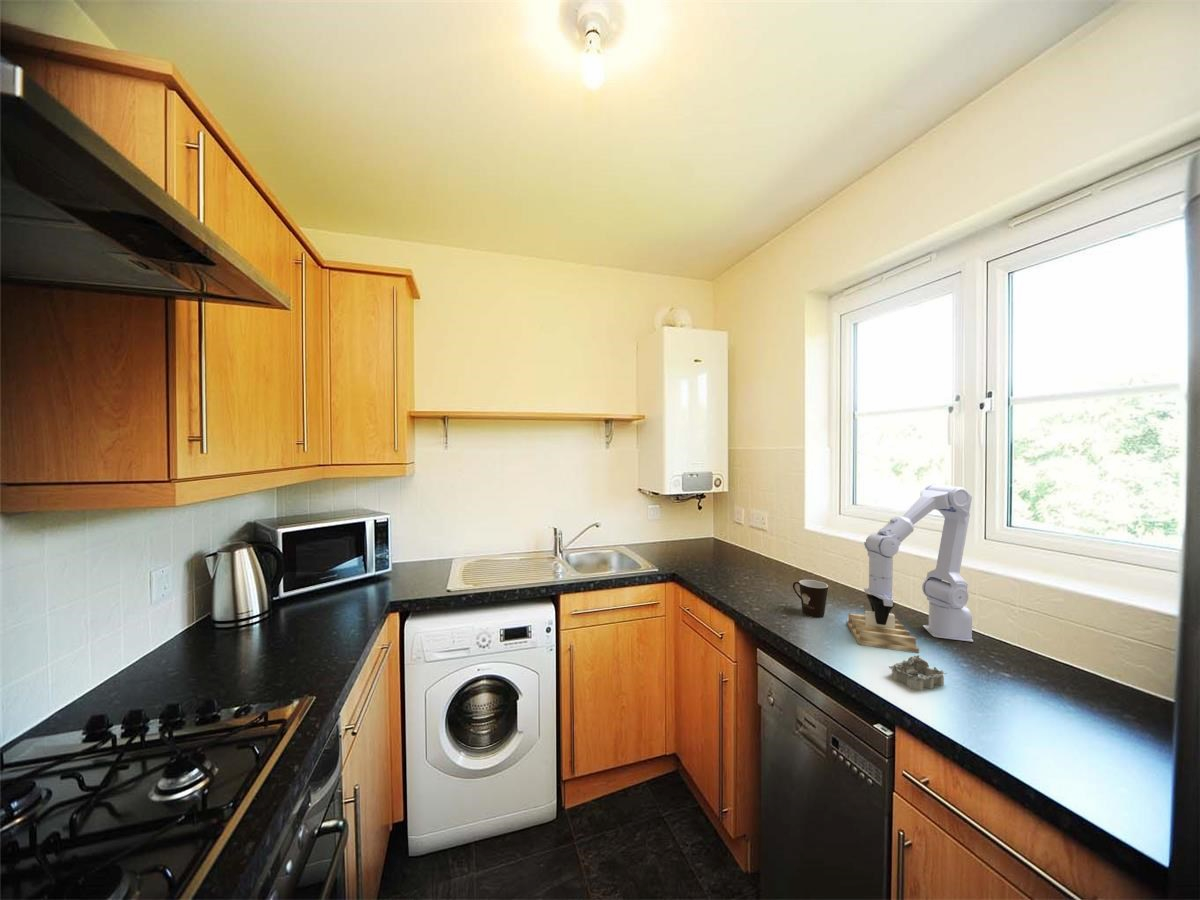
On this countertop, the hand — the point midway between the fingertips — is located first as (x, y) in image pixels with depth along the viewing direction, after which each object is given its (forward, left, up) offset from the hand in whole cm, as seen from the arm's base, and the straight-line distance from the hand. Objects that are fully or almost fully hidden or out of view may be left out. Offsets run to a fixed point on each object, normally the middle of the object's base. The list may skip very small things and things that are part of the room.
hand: (879, 622), depth 122 cm
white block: (0, 0, -3) cm, 3 cm away
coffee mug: (+16, -14, -4) cm, 22 cm away
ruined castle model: (-1, +24, -5) cm, 24 cm away
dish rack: (0, 0, -4) cm, 4 cm away
